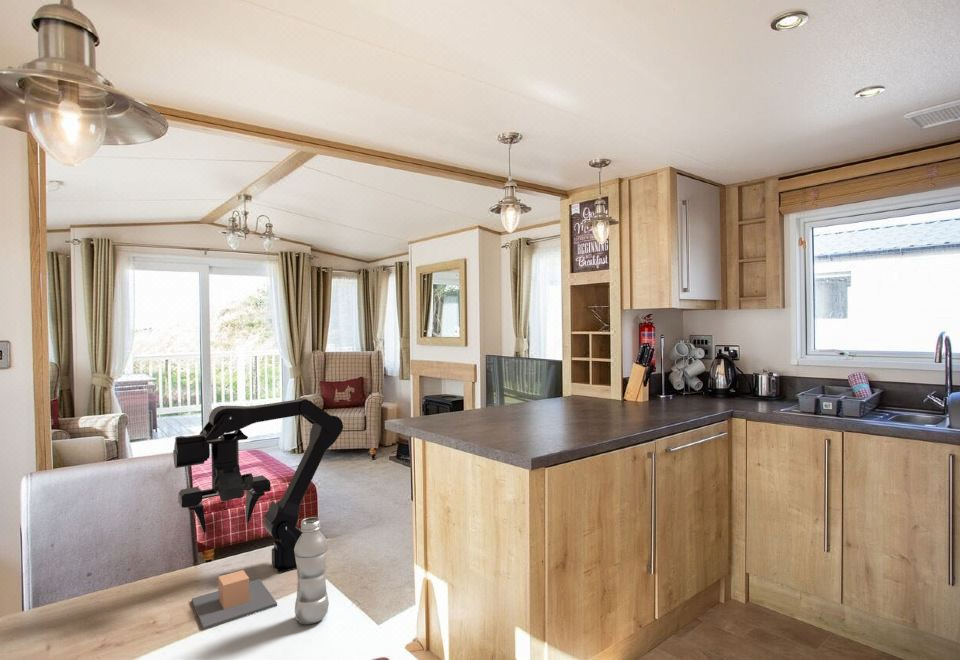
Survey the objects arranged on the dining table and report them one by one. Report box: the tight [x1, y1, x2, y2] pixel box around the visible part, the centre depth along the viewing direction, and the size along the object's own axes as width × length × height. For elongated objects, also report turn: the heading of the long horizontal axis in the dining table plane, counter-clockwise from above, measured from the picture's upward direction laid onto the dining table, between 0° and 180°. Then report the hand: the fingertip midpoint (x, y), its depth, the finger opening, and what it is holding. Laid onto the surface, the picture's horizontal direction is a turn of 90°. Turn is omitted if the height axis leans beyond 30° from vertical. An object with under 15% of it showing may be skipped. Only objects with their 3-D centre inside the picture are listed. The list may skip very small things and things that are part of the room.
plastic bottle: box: [294, 516, 330, 625], centre depth 105 cm, size 6×7×20 cm
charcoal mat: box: [191, 578, 278, 631], centre depth 111 cm, size 14×14×1 cm
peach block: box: [217, 569, 250, 609], centre depth 111 cm, size 5×5×5 cm
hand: (226, 527), depth 121 cm, fingers open, 9 cm apart
